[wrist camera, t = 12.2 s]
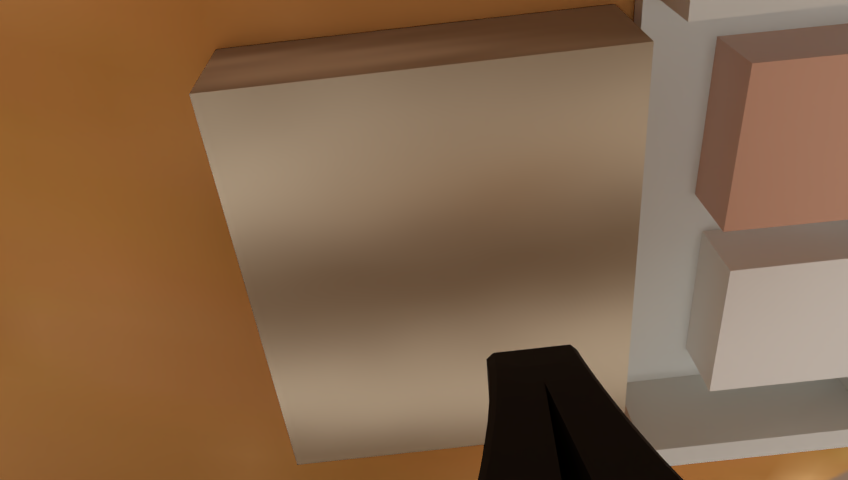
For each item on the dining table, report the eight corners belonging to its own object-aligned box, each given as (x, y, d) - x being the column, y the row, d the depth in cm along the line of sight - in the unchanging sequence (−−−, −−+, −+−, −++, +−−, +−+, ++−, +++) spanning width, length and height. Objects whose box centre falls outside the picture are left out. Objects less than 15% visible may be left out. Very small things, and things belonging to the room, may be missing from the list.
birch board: (598, 361, 24) (623, 429, 22) (305, 393, 24) (297, 464, 22) (615, 4, 18) (653, 41, 15) (216, 49, 18) (189, 94, 15)
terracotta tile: (723, 231, 19) (694, 194, 20) (896, 214, 19) (853, 178, 20) (752, 63, 16) (717, 36, 18) (951, 43, 16) (897, 18, 18)
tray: (834, 363, 25) (894, 441, 22) (611, 387, 25) (641, 468, 22) (965, -91, 17) (1087, -64, 14) (638, -54, 17) (692, -19, 14)
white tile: (709, 391, 22) (685, 347, 23) (857, 375, 22) (823, 333, 23) (730, 270, 19) (702, 231, 21) (897, 253, 19) (856, 214, 21)
